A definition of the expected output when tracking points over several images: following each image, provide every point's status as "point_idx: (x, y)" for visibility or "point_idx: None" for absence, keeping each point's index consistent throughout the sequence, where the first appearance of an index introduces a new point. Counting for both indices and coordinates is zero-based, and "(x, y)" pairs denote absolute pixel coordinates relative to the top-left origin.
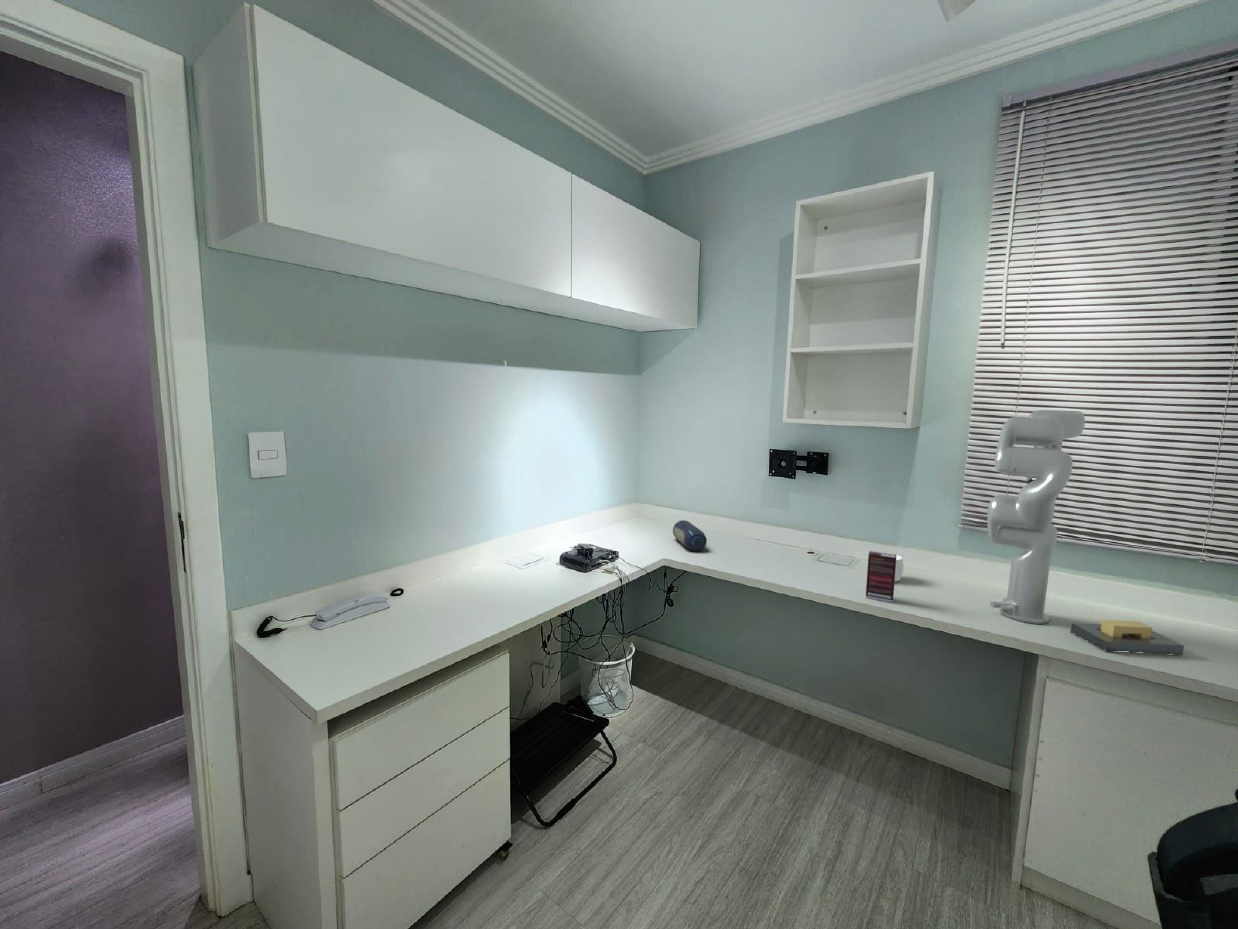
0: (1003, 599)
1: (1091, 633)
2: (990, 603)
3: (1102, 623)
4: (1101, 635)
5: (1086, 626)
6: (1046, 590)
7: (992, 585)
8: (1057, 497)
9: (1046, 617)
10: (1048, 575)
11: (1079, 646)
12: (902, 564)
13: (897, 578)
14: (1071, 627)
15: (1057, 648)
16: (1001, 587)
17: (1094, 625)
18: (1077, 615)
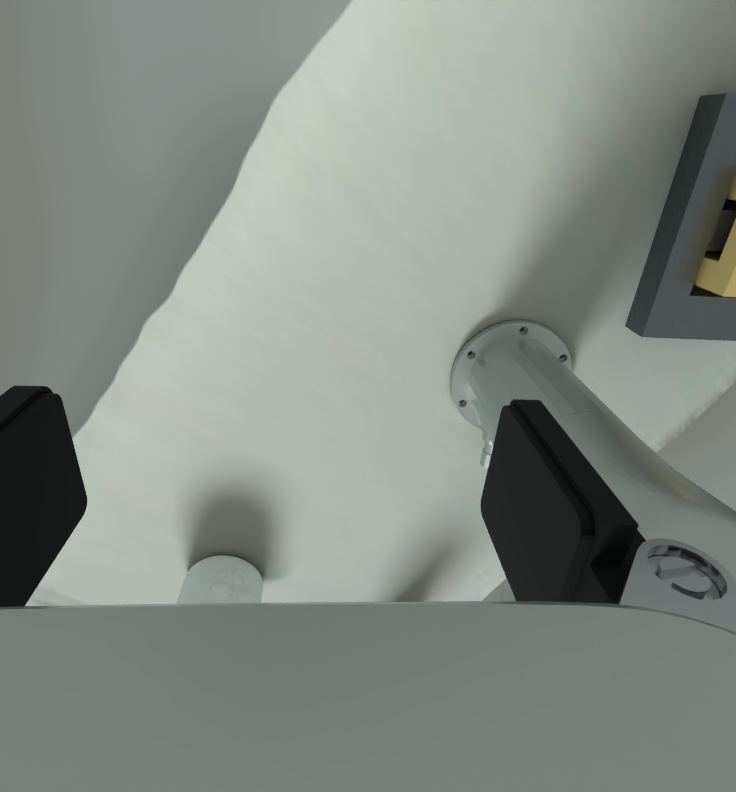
0: (488, 439)
1: (710, 338)
2: (481, 464)
3: (717, 293)
4: (728, 321)
5: (672, 313)
6: (589, 389)
7: (221, 287)
8: (538, 401)
9: (552, 341)
10: (618, 418)
11: (694, 369)
12: (231, 596)
13: (258, 577)
14: (635, 331)
15: (686, 427)
16: (239, 266)
17: (673, 281)
18: (517, 182)
